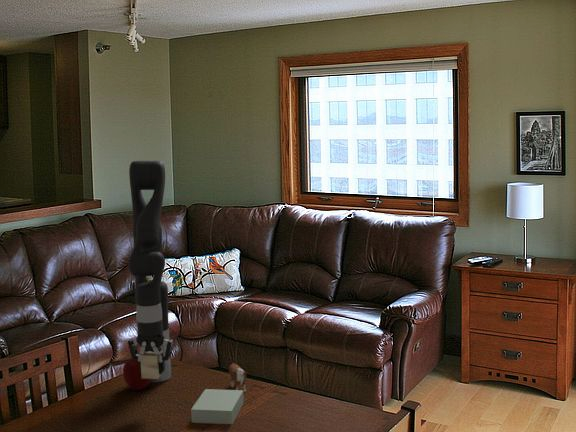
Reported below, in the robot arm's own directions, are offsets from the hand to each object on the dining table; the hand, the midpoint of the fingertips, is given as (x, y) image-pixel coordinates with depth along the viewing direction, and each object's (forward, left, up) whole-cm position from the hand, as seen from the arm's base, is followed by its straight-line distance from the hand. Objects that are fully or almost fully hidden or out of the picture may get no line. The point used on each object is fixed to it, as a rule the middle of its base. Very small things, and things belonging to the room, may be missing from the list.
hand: (152, 372), depth 221 cm
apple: (-17, -11, -12) cm, 23 cm away
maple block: (0, 0, -1) cm, 1 cm away
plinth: (0, +20, -12) cm, 23 cm away
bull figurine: (-19, +22, -12) cm, 31 cm away
